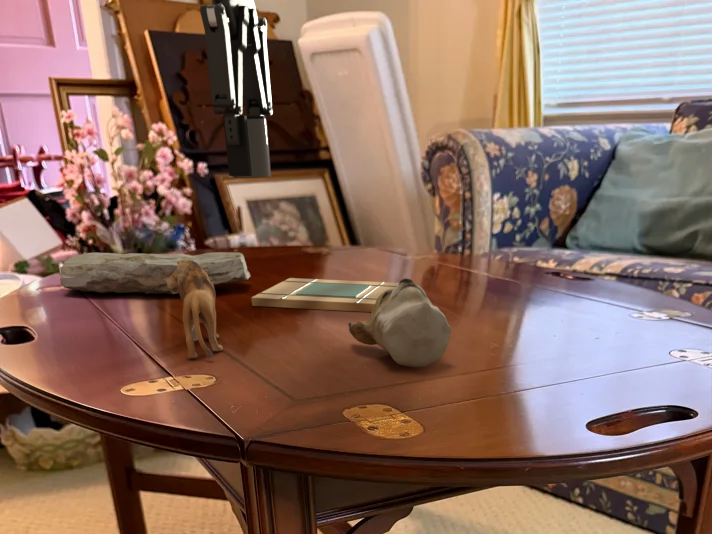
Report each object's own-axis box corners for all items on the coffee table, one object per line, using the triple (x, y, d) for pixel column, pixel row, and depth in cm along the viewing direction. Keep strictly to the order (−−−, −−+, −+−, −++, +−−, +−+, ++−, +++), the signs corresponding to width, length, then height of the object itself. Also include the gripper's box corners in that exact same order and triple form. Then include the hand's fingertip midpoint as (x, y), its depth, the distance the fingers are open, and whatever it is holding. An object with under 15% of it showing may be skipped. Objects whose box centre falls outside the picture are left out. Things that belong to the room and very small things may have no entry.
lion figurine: (171, 334, 94) (160, 257, 90) (214, 330, 96) (206, 255, 92) (189, 364, 83) (178, 278, 78) (238, 359, 84) (229, 275, 80)
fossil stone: (256, 282, 126) (253, 247, 123) (238, 300, 113) (235, 262, 110) (87, 280, 126) (80, 246, 123) (50, 298, 113) (42, 260, 110)
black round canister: (222, 177, 95) (216, 119, 92) (239, 175, 99) (234, 119, 96) (261, 178, 94) (256, 118, 91) (277, 175, 98) (272, 118, 95)
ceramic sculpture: (375, 288, 74) (341, 272, 87) (376, 376, 78) (344, 348, 91) (476, 284, 77) (429, 269, 90) (473, 369, 81) (428, 343, 94)
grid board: (251, 305, 109) (251, 296, 109) (289, 285, 123) (289, 277, 122) (387, 313, 106) (387, 303, 105) (410, 291, 119) (411, 282, 119)
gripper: (225, -75, 77) (249, 179, 88) (289, -42, 92) (302, 170, 103) (157, -71, 78) (189, 178, 89) (231, -39, 94) (251, 170, 105)
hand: (250, 174), depth 96 cm, fingers closed on black round canister, 5 cm apart
